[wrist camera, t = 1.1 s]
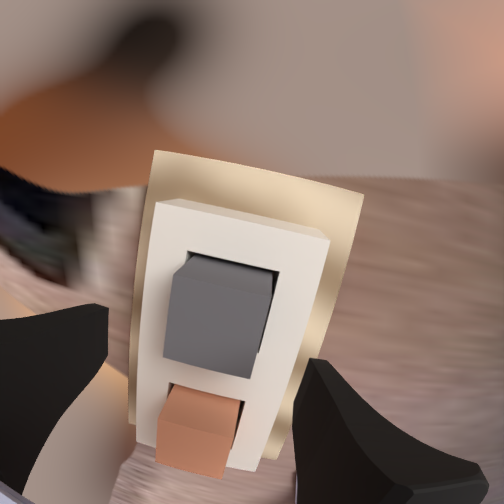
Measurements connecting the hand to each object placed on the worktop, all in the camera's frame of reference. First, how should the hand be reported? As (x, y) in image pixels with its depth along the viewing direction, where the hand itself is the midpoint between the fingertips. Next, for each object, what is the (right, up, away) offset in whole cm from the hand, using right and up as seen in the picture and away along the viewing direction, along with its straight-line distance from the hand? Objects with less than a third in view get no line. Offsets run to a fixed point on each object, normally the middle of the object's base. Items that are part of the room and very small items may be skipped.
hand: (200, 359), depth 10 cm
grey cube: (0, +1, +7) cm, 7 cm away
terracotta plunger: (-1, -6, +8) cm, 10 cm away
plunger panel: (0, -2, +11) cm, 11 cm away
